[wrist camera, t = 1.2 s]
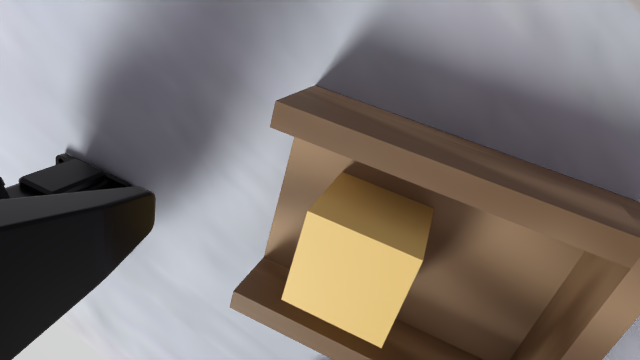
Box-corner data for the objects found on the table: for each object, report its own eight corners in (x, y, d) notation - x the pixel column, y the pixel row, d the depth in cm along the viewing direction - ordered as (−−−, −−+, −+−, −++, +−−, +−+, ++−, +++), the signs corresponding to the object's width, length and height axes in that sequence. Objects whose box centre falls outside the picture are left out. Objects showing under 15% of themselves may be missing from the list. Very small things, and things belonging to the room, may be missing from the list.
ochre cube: (399, 283, 22) (381, 348, 18) (317, 247, 23) (281, 299, 19) (434, 208, 20) (423, 260, 16) (342, 171, 21) (307, 210, 17)
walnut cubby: (513, 376, 23) (521, 454, 19) (268, 261, 26) (229, 307, 22) (638, 201, 18) (689, 256, 14) (315, 85, 21) (275, 101, 17)
